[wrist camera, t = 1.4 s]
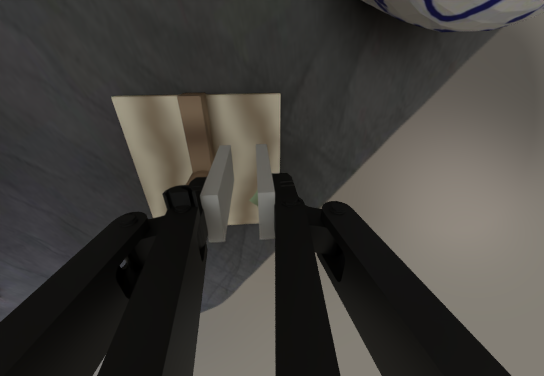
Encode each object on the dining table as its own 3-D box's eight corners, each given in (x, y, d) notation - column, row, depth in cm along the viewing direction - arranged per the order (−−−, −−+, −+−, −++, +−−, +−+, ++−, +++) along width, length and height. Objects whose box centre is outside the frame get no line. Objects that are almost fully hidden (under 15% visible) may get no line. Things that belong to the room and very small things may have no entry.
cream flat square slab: (159, 224, 40) (156, 229, 39) (116, 95, 29) (110, 97, 28) (278, 218, 42) (279, 222, 41) (279, 92, 31) (280, 94, 30)
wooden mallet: (231, 226, 40) (227, 254, 34) (206, 227, 39) (198, 256, 34) (213, 91, 28) (203, 99, 23) (179, 92, 28) (159, 99, 22)
